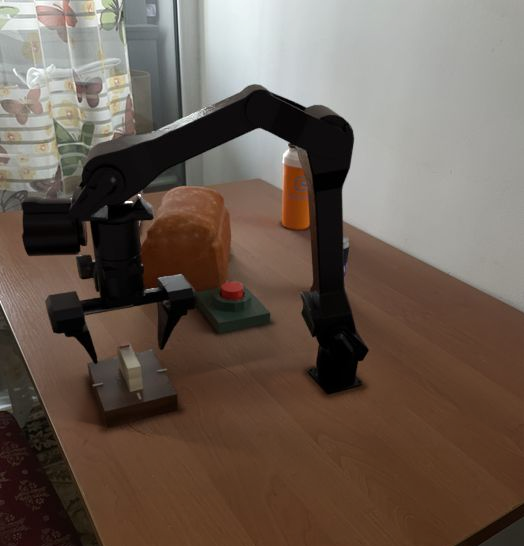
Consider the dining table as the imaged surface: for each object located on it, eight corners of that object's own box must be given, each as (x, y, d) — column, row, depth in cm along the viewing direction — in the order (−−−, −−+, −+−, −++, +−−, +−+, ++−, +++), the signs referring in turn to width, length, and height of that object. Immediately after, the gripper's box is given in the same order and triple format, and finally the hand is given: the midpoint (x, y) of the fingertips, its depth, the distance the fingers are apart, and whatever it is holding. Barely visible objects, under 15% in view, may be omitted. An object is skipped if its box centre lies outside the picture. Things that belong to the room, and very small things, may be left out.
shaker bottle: (272, 220, 143) (277, 140, 131) (302, 216, 146) (309, 138, 135) (288, 232, 136) (294, 149, 125) (319, 228, 139) (328, 147, 128)
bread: (138, 292, 107) (132, 218, 98) (158, 242, 127) (154, 178, 119) (225, 296, 107) (226, 223, 99) (232, 246, 127) (233, 182, 119)
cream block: (142, 389, 77) (140, 364, 74) (130, 392, 76) (127, 367, 74) (131, 364, 82) (128, 340, 79) (119, 366, 81) (116, 342, 78)
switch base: (180, 409, 78) (179, 392, 76) (104, 429, 74) (101, 411, 72) (156, 364, 87) (155, 348, 85) (87, 379, 83) (84, 362, 81)
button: (246, 298, 99) (246, 289, 98) (226, 302, 98) (226, 293, 97) (237, 288, 102) (238, 280, 101) (217, 292, 100) (217, 283, 100)
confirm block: (269, 323, 99) (271, 303, 97) (218, 333, 95) (218, 313, 93) (243, 293, 108) (243, 275, 106) (195, 302, 104) (195, 283, 102)
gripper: (170, 221, 77) (175, 316, 86) (30, 237, 70) (50, 339, 79) (197, 251, 69) (199, 353, 78) (41, 273, 62) (63, 382, 71)
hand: (128, 355), depth 77 cm, fingers open, 9 cm apart
